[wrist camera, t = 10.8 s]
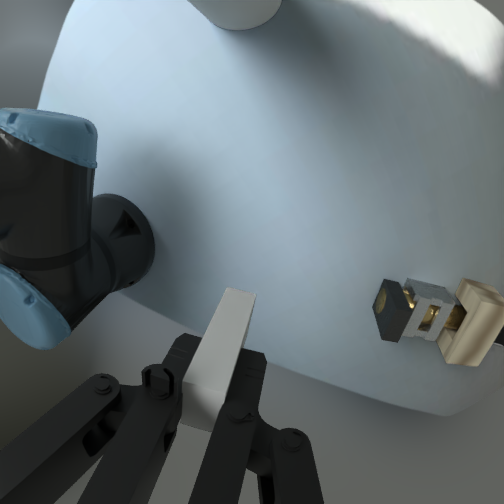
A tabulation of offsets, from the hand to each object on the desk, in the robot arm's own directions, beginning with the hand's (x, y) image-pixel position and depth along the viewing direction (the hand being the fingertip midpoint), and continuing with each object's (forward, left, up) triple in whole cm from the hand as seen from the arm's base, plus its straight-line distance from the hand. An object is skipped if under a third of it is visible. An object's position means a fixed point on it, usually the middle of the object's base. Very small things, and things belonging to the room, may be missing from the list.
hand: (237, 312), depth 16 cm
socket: (+34, -10, -26) cm, 44 cm away
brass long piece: (+26, -10, -26) cm, 38 cm away
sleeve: (+24, -10, -26) cm, 37 cm away
